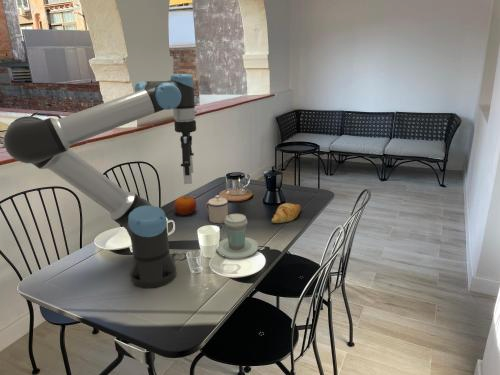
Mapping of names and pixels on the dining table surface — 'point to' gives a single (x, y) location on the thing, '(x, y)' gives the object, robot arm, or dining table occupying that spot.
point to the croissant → (286, 213)
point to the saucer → (248, 250)
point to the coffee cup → (236, 230)
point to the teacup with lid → (217, 209)
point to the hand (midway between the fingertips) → (188, 178)
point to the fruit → (185, 205)
